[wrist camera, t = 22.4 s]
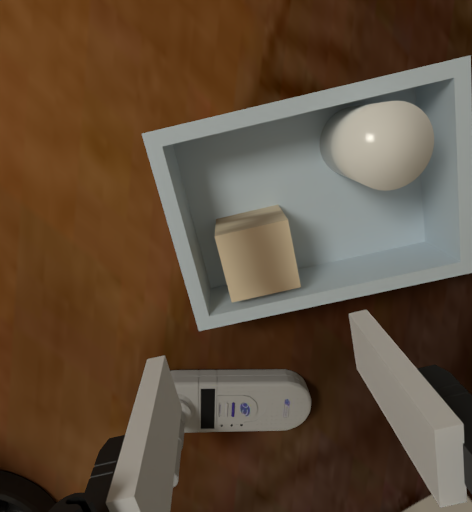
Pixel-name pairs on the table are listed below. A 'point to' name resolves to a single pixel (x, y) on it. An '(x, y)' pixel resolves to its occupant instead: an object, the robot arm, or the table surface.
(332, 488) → the table surface
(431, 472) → the robot arm
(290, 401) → the electronic device
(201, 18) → the table surface
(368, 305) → the table surface
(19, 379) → the table surface
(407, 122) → the white egg
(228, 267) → the beech cube
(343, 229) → the tote
